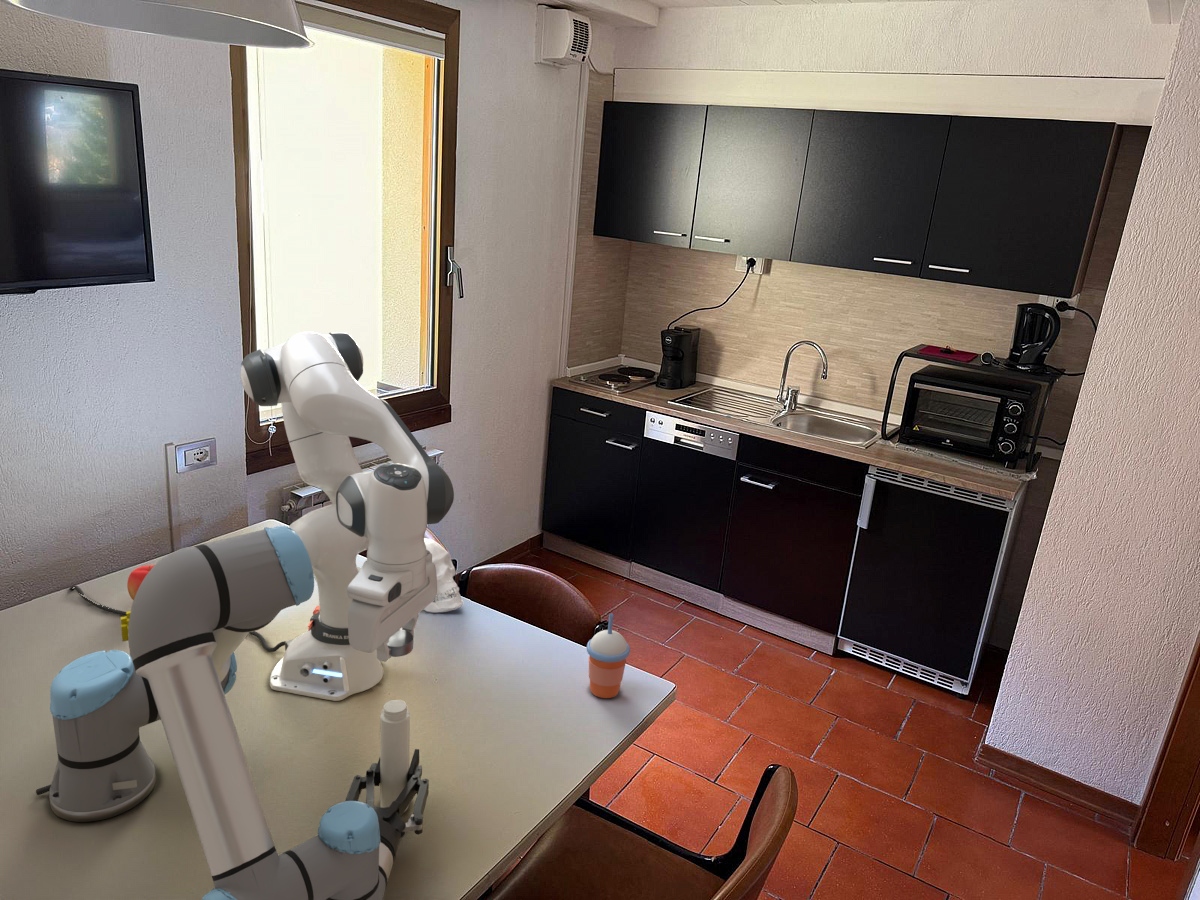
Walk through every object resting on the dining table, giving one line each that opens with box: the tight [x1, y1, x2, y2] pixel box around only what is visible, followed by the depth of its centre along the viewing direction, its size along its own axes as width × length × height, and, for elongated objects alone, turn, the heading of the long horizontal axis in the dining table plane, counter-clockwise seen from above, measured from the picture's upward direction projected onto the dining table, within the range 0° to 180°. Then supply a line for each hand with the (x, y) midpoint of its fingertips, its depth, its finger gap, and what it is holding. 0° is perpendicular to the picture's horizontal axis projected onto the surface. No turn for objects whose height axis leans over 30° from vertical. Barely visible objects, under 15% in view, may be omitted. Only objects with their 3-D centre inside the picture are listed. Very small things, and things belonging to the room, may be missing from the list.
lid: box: [387, 629, 414, 658], centre depth 135 cm, size 5×5×2 cm
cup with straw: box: [586, 613, 631, 699], centre depth 179 cm, size 9×9×18 cm
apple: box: [126, 564, 156, 601], centre depth 199 cm, size 10×10×10 cm
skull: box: [423, 537, 465, 614], centre depth 211 cm, size 13×22×16 cm, turn 67°
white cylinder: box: [379, 699, 411, 813], centre depth 141 cm, size 5×5×20 cm
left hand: (401, 755), depth 147 cm, fingers closed on white cylinder, 5 cm apart
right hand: (395, 649), depth 135 cm, fingers closed on lid, 5 cm apart
